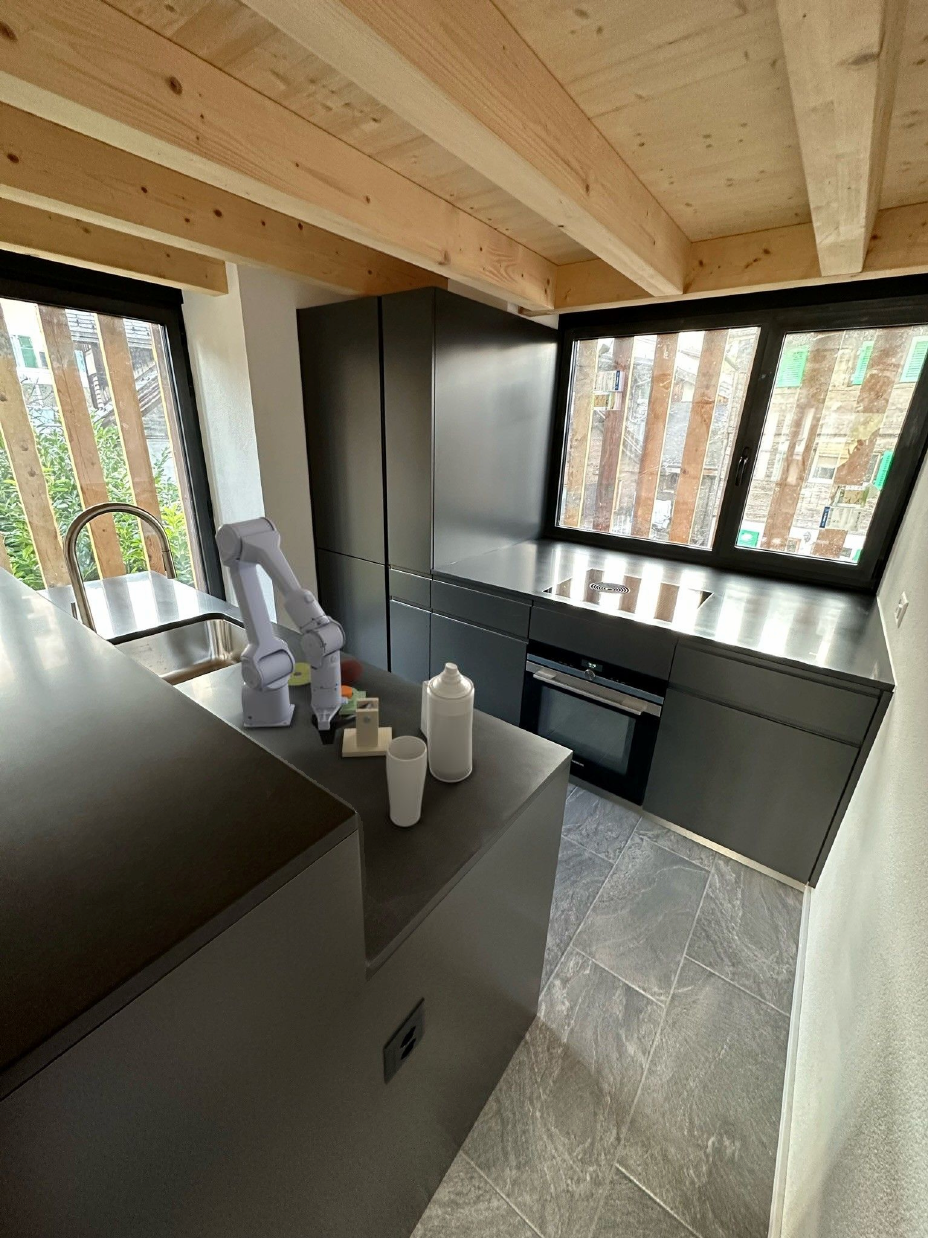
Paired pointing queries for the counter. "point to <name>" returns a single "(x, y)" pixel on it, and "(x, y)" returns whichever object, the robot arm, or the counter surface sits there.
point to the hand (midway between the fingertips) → (329, 738)
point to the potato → (350, 671)
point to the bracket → (366, 733)
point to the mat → (300, 674)
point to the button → (346, 691)
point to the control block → (352, 702)
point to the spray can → (450, 724)
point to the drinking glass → (406, 778)
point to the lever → (353, 716)
